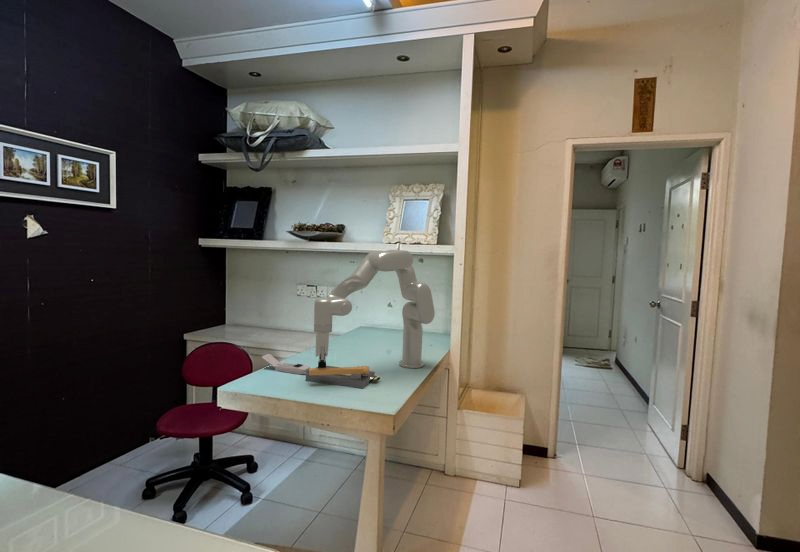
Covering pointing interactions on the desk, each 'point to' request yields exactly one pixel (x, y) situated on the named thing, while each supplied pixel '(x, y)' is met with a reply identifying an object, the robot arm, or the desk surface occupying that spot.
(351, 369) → the orange wooden bar
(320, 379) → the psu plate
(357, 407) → the desk surface
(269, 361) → the pale grey angled bar
